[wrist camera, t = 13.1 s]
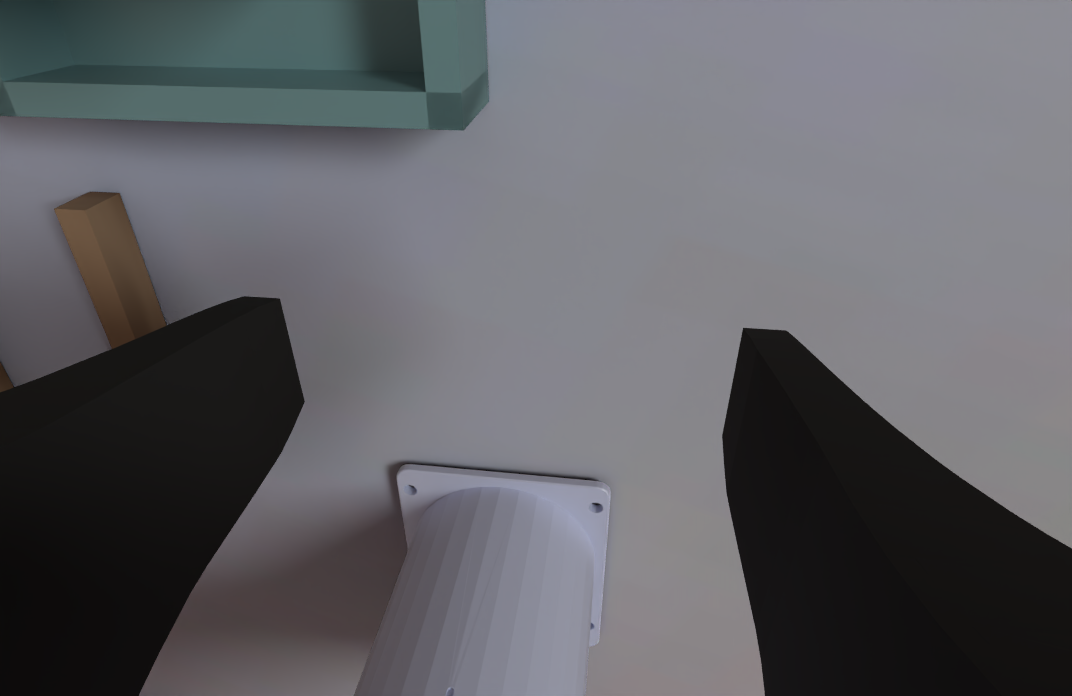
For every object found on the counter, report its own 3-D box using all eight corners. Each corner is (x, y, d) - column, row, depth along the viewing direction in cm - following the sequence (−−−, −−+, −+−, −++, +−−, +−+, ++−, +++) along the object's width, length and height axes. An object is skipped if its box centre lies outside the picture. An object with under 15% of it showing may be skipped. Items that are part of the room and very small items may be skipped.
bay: (210, 450, 26) (189, 477, 25) (17, 432, 27) (-14, 457, 26) (119, 192, 20) (85, 210, 19) (-122, 182, 21) (-170, 197, 20)
